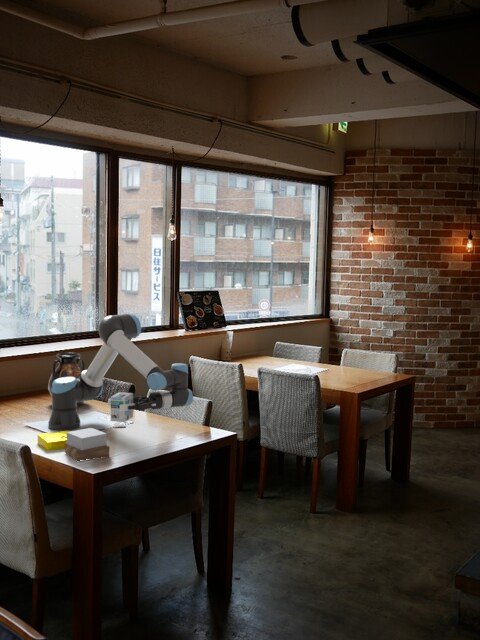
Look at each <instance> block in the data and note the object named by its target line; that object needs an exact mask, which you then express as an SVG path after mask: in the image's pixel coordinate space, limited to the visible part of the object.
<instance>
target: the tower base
mask: <svg viewBox="0 0 480 640" xmlns="http://www.w3.org/2000/svg"><path fill="white" fill-rule="evenodd" d="M65 453H66V454H65ZM64 454H65V455H67V456H68V455H69V456H68V457H70V458H71V457H72V458H71V459H73V458H74V459H75V460H77V461H80V460H86V459H93V458H100V459H102V458H101V457H106V458H110V446H109V445H108V444H107V445H105V446H100V447H95V448H90V449H85V450H80V449H77V448H75V447H73V446H70V445H68V444H67V443H65V449H64ZM74 459H73V460H74ZM75 460H74V461H75ZM93 460H94V459H93ZM77 461H76V462H77ZM80 462H81V461H80Z"/></svg>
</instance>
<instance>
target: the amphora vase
mask: <svg viewBox="0 0 480 640" xmlns="http://www.w3.org/2000/svg"><path fill="white" fill-rule="evenodd" d="M55 356H56V357H57V358H58V359H55V360H54V361H53V363H52V366H51V372H52V373H51V374H50V377H49V380H48V385H47V386H48V387H47V389H48V392H49V394H50V396H51V397H52V383H53V381H54V380H56V379H58V378H62V377H75V378H76V379H77V378H79V376H80V375H81V373H82V372H83V371H84V370H85V360H84V359H83V358H82V357H81V354H80V353H77V352H60V353H57V354H56V355H55ZM79 361H80V364H81V367H80V366H79ZM57 363H58V366H57V367H56V365H57ZM84 403H85V401H83V402H78V403H77V407H80V406H81V405H83V404H84Z"/></svg>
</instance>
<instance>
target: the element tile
mask: <svg viewBox="0 0 480 640" xmlns="http://www.w3.org/2000/svg"><path fill="white" fill-rule="evenodd" d="M67 432H71V431H70V430H59V431H52V432H46V433H45V432H44V433H38V435H37V445H39V446H40V447H41V448H43V450H45V451H48V452H53V451H58V450H65V443H67Z"/></svg>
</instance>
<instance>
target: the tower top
mask: <svg viewBox="0 0 480 640" xmlns="http://www.w3.org/2000/svg"><path fill="white" fill-rule="evenodd" d="M107 435H108V434H107V433H106V432H104V431H101V430H99V429H95V428H93V427H88V428H83V429H77V430H72V431H70V432H67V444H68V445H70V446H73V447H75V448H77V449H80V450H85V449H90V448H95V447H100V446H105V445H108V443H107V439H108V438H107V437H108V436H107Z"/></svg>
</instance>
